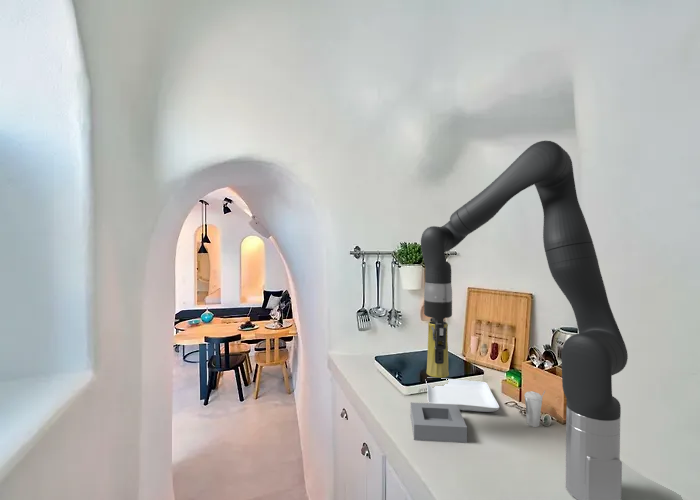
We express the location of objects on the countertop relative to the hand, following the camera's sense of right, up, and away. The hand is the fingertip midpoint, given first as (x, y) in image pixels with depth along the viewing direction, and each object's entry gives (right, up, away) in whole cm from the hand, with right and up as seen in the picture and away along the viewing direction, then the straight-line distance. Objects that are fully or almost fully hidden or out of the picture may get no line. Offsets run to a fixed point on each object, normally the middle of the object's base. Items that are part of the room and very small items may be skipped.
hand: (437, 359), depth 102 cm
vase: (0, -4, 0) cm, 4 cm away
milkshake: (+28, -19, +3) cm, 34 cm away
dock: (0, -19, 0) cm, 19 cm away
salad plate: (+12, -20, +19) cm, 30 cm away
